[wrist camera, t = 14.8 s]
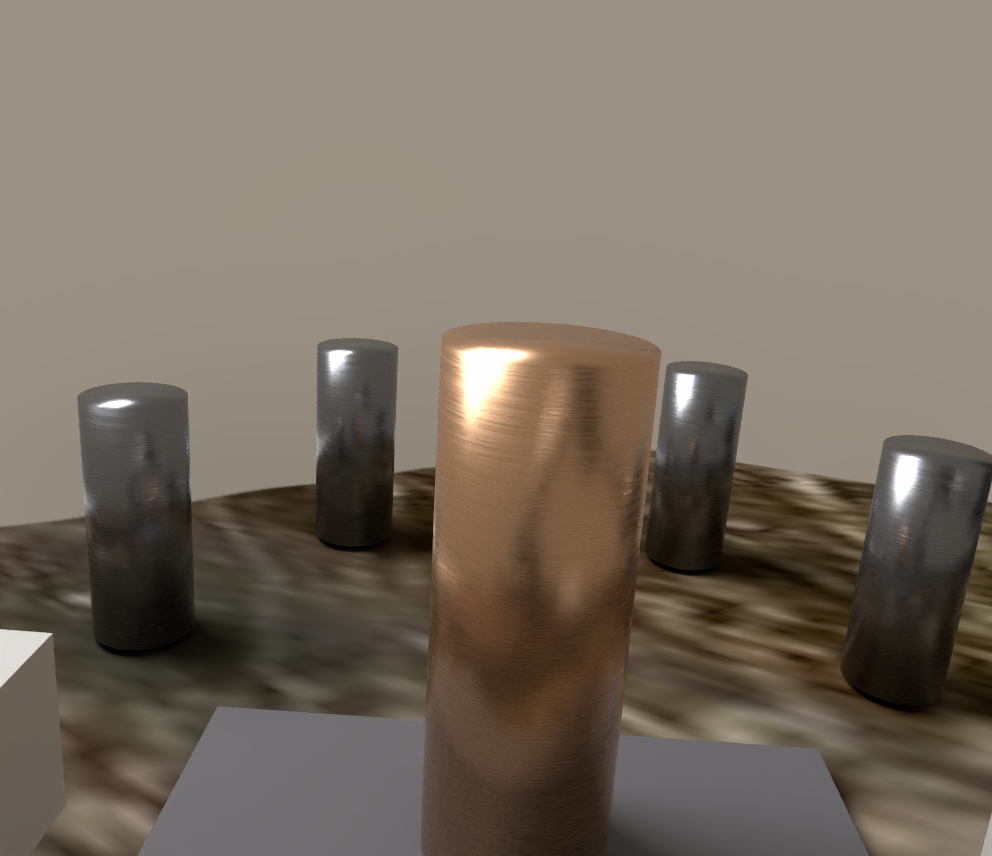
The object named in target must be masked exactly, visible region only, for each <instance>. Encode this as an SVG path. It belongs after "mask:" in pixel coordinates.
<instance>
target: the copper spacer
mask: <svg viewBox="0 0 992 856" xmlns="http://www.w3.org/2000/svg"><path fill="white" fill-rule="evenodd" d="M660 359H661V351H660V349H659V348H658V347H657V346H656V345H654V344H652V343H650V342H648V341H646V340H643V339H640V338H637V337H634V336H630V335H627V334H622V333H618V332H613V331H608V330H602V329H597V328H589V327H582V326H574V325H563V324H552V323H532V322H531V323H530V322H502V323H501V322H500V323H484V324H475V325H467V326H462V327H458V328H454V329H451V330H448V331H447V332H445V333H444V334H443V335H442V339H441V360H440V383H439V407H438V431H437V455H436V479H435V502H434V526H433V550H432V574H431V597H430V621H429V645H428V669H427V692H426V716H425V740H424V764H423V788H422V811H421V835H420V845H421V852H422V855H423V856H606V853H607V844H608V835H609V826H610V816H611V807H612V798H613V789H614V780H615V771H616V762H617V752H618V743H619V734H620V725H621V716H622V707H623V698H624V688H625V679H626V670H627V661H628V652H629V643H630V634H631V625H632V615H633V606H634V597H635V588H636V579H637V570H638V561H639V551H640V542H641V533H642V524H643V515H644V506H645V497H646V487H647V478H648V469H649V460H650V451H651V441H652V433H653V423H654V414H655V405H656V396H657V387H658V378H659V369H660Z"/></svg>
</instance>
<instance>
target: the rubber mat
mask: <svg viewBox="0 0 992 856" xmlns="http://www.w3.org/2000/svg"><path fill="white" fill-rule="evenodd" d="M424 740H425V721H418V720H404V719H390V718H376V717H362V716H348V715H334V714H320V713H305V712H291V711H277V710H263V709H249V708H235V707H221V706H218V707H217V709H216V710H215V712H214V714H213V716H212V718H211V720H210V722H209V723H208V725H207V727H206V729H205V731H204V733H203V735H202V737H201V738H200V740H199V742H198V744H197V746H196V748H195V750H194V751H193V753H192V755H191V757H190V759H189V761H188V763H187V765H186V766H185V768H184V770H183V772H182V774H181V776H180V778H179V779H178V781H177V783H176V785H175V787H174V789H173V791H172V792H171V794H170V796H169V798H168V800H167V802H166V804H165V806H164V807H163V809H162V811H161V813H160V815H159V817H158V819H157V820H156V822H155V824H154V826H153V828H152V830H151V832H150V834H149V835H148V837H147V839H146V841H145V843H144V845H143V847H142V848H141V850H140V852H139V854H138V856H423V855H422V852H421V845H420V835H421V811H422V788H423V764H424ZM606 856H869V854H868V852H867V850H866V848H865V846H864V844H863V842H862V840H861V837H860V835H859V833H858V831H857V829H856V827H855V825H854V823H853V821H852V819H851V817H850V815H849V813H848V811H847V808H846V806H845V804H844V802H843V800H842V798H841V796H840V794H839V792H838V790H837V788H836V786H835V784H834V782H833V779H832V777H831V775H830V773H829V771H828V769H827V767H826V765H825V763H824V761H823V759H822V757H821V755H820V753H819V751H818V749H811V748H797V747H783V746H769V745H755V744H741V743H727V742H713V741H699V740H685V739H670V738H656V737H642V736H628V735H619V743H618V752H617V762H616V771H615V780H614V789H613V798H612V807H611V816H610V826H609V835H608V844H607V853H606Z"/></svg>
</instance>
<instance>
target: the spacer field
mask: <svg viewBox="0 0 992 856" xmlns="http://www.w3.org/2000/svg"><path fill="white" fill-rule="evenodd" d="M317 346H318V347H317V349H318V350H317V351H318V352H317V448H316V450H317V452H316V534H317V536H318V537H319V538H320V539H322V540H323V541H325V542H328V543H331V544H335V545H340V546H351V547H358V546H368V545H373V544H377V543H380V542H382V541H384V540H386V539H387V538H389V537H390V535H391V533H392V510H393V481H394V452H395V423H396V394H397V393H396V392H397V365H398V363H397V362H398V347H397V346H396V345H394V344H391V343H388V342H384V341H379V340H372V339H359V338H358V339H357V338H348V339H347V338H345V339H333V340H327V341H323V342H321V343H319V344H318V345H317ZM747 378H748V374H747V373H746V372H744V371H742V370H740V369H737V368H734V367H730V366H726V365H721V364H716V363H708V362H695V361H683V362H674V363H670V364H668V365H667V367H666V375H665V384H664V393H663V401H662V409H661V417H660V426H659V435H658V443H657V451H656V459H655V467H654V476H653V484H652V493H651V501H650V509H649V518H648V526H647V534H646V543H645V552H646V554H647V555H648V556H649V557H650V558H651V559H652V560H654V561H656V562H658V563H660V564H662V565H665V566H668V567H672V568H676V569H682V570H707V569H711V568H714V567H716V566H717V565H719V564H720V562H721V557H722V550H723V543H724V536H725V529H726V523H727V516H728V509H729V502H730V495H731V488H732V481H733V475H734V468H735V461H736V454H737V447H738V440H739V433H740V426H741V420H742V412H743V405H744V399H745V392H746V385H747ZM78 412H79V425H80V426H79V427H80V442H81V456H82V471H83V486H84V501H85V516H86V531H87V545H88V560H89V575H90V590H91V605H92V620H93V633H94V637H95V638H96V640H97V641H99V642H100V643H101V644H103V645H105V646H108V647H111V648H115V649H120V650H147V649H153V648H158V647H162V646H165V645H168V644H171V643H173V642H176V641H178V640H180V639H181V638H183V637H185V636H186V635H187V634H188V633H189V632H190V631H191V630H192V629H193V627H194V625H195V607H194V576H193V545H192V514H191V485H190V456H189V455H190V454H189V453H190V452H189V422H188V394H187V392H186V391H185V390H183V389H181V388H179V387H176V386H172V385H167V384H159V383H140V382H137V383H118V384H110V385H104V386H99V387H94V388H91V389H88V390H86V391H84V392H82V393H80V394H79V395H78ZM991 482H992V456H991V455H990V454H988V453H987V452H985V451H983V450H980V449H978V448H975V447H973V446H970V445H966V444H963V443H959V442H955V441H951V440H946V439H940V438H935V437H926V436H914V435H902V436H893V437H890V438H887V439H885V440H884V443H883V449H882V453H881V459H880V464H879V469H878V474H877V479H876V484H875V490H874V495H873V500H872V505H871V510H870V515H869V521H868V526H867V531H866V536H865V541H864V547H863V552H862V557H861V562H860V567H859V572H858V578H857V583H856V588H855V593H854V598H853V604H852V609H851V614H850V619H849V624H848V629H847V635H846V640H845V645H844V650H843V655H842V661H841V667H840V669H841V672H842V674H843V676H844V677H845V679H846V680H847V681H848V682H849V683H851V684H852V685H853V686H854V687H856V688H857V689H859V690H860V691H862V692H864V693H866V694H868V695H870V696H872V697H875V698H878V699H880V700H883V701H887V702H890V703H895V704H900V705H908V706H922V705H928V704H932V703H934V702H936V701H938V700H939V699H940V698H941V697H942V694H943V690H944V686H945V681H946V677H947V673H948V668H949V664H950V660H951V655H952V651H953V647H954V642H955V638H956V634H957V629H958V625H959V621H960V616H961V612H962V608H963V603H964V599H965V595H966V590H967V586H968V582H969V577H970V573H971V569H972V564H973V560H974V556H975V551H976V547H977V543H978V539H979V534H980V530H981V526H982V521H983V517H984V513H985V508H986V504H987V500H988V495H989V491H990V487H991Z"/></svg>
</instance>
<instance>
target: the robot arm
mask: <svg viewBox="0 0 992 856" xmlns="http://www.w3.org/2000/svg"><path fill="white" fill-rule="evenodd" d="M65 804H66V797H65V785H64V772H63V760H62V747H61V735H60V722H59V710H58V697H57V685H56V672H55V659H54V647H53V634H52V633H41V632H27V631H14V630H1V629H0V856H30V854H31V853H32V851H33V850H34V848H35V847H36V846H37V844H38V843H39V841H40V840H41V838H42V837H43V835H44V834H45V833H46V831H47V830H48V828H49V827H50V825H51V824H52V823H53V821H54V820H55V818H56V817H57V815H58V814H59V813H60V811H61V810H62V808H63V807H64V805H65ZM981 856H992V815H991V819H990V822H989V826H988V830H987V834H986V838H985V842H984V846H983V849H982V853H981Z"/></svg>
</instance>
